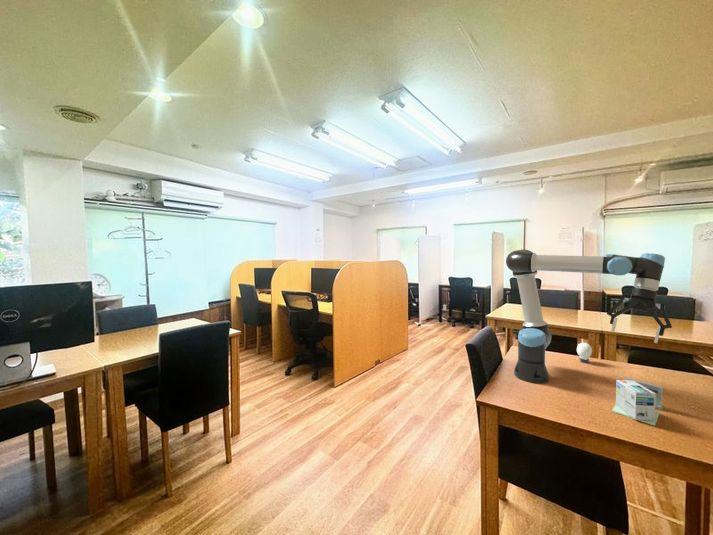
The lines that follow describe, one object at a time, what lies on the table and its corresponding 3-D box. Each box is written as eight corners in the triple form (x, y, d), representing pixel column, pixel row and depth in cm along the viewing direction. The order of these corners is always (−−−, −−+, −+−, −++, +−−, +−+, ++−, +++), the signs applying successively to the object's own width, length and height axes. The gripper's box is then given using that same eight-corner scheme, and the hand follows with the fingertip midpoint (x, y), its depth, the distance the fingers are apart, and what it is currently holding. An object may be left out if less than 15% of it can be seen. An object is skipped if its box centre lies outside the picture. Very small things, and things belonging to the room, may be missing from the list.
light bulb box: (655, 421, 106) (657, 393, 106) (635, 420, 108) (636, 392, 107) (633, 405, 117) (634, 379, 116) (614, 404, 118) (615, 379, 117)
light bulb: (590, 360, 162) (591, 341, 161) (592, 365, 156) (593, 345, 156) (575, 358, 166) (576, 340, 165) (577, 362, 160) (577, 343, 159)
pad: (611, 411, 114) (611, 410, 114) (618, 401, 121) (618, 400, 121) (654, 425, 105) (655, 424, 105) (659, 414, 112) (659, 412, 112)
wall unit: (622, 398, 123) (623, 378, 122) (623, 396, 125) (624, 376, 124) (661, 410, 114) (662, 388, 113) (662, 408, 116) (663, 386, 115)
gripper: (688, 297, 116) (676, 348, 116) (609, 285, 136) (598, 328, 136) (688, 294, 112) (675, 347, 112) (606, 282, 131) (594, 327, 131)
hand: (633, 337), depth 124 cm, fingers open, 13 cm apart
